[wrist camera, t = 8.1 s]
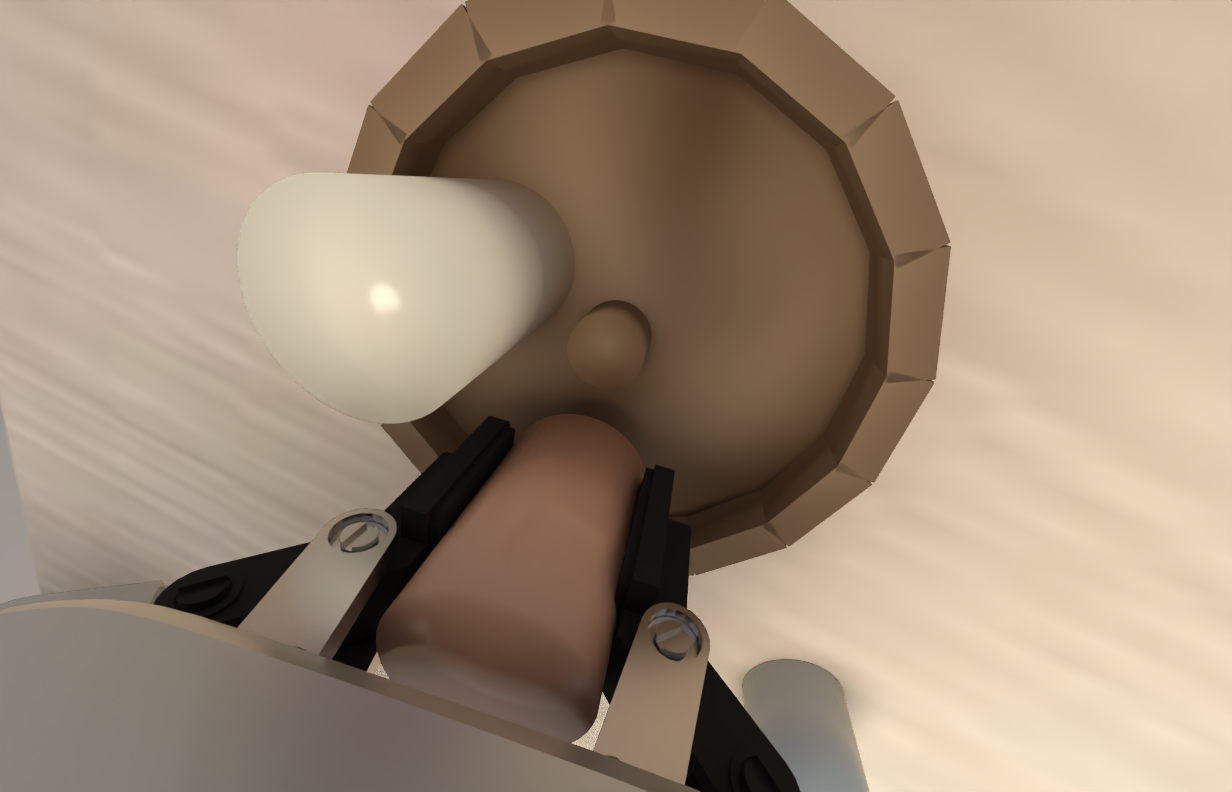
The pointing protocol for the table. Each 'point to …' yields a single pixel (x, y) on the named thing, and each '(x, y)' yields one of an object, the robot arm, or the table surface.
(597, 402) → the groove tray
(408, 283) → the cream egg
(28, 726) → the robot arm
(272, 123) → the table surface
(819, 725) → the bead slate
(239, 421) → the table surface
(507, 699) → the bead terracotta
